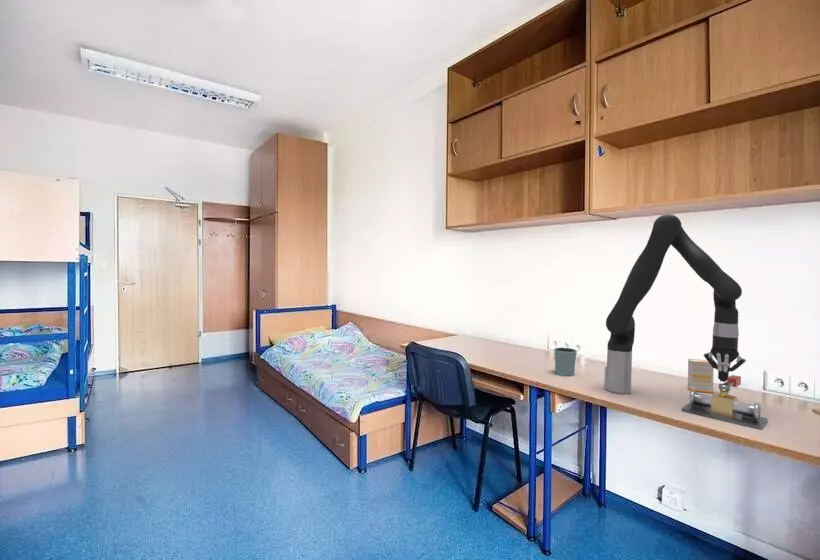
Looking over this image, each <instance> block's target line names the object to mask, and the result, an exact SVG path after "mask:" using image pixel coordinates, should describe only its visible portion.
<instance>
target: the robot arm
mask: <svg viewBox="0 0 820 560" xmlns="http://www.w3.org/2000/svg"><path fill="white" fill-rule="evenodd" d="M651 229H652V230H651V233H650V235H649V238H648V240H647V243H646V245H645V246H644V249H643V250H642V251H641V253H640V255H638V258H637V259H636V261H635V262H634V264H633V266H632V268H631V270H630V273H629V274H628V276H627V278H626V281H625V283H624V285H623V287H622V290H621V293H620V295H619V297H618V299H617V301H616V303H615V304H614V306H613V308H612V309H611V311H610V312H609V314H608V315H607V317H606V320H605V326H606V329H607V331H608V332H609V333H610V337H609V340H608V341H607V347H606V348H607V349H606V350H607V352H606V353H607V355H606V366H605V367H604V384H603V385H604V386H603V387H604V388H603V389H604V390H606V391H609V392H610V393H614V394H622V395H623V394H624V395H625V394H626V395H627V394H630V393H631V392H632V371H633V370H632V369H633V368H632V367H633V366H632V365H633V346H634V343H635V333H636V330H635V329H636V321H635V318H634V317H633V315H634V313H635V311H636V309H637V307H638V306H639V304H640V303H641V302H642V300H643V299H644V298H645V297H646V296H647V294H648V293H649V292H650V290H651V289H652V287H653V285H654V283H655V281H656V279H657V277H658V276H659V272H660V270H661V268H662V265H663V263H664V262H663V261H664V259H665V257H666V254H667V252H668V250H669V248H670V247H671V246H672V247H673V248H674V249H675V251H677V252H678V253H679V255H680V256H681V257H682V258H683V259H684V261H685V262H686V263H687V265H689V266H690V268H691V269H692V270H693V271H694V272H695V273H696V275H697V276H699V278H700V279H701V280H702V281H704V282H706V283H707V284H708V285H709V286H711V288H712V289H713V294H712V295H713V296H712V297H713V303H714V304H713V305H714V319H713V322H714V323H713V327H712V346H711V348H710V351H708V352H707V353H704V354H703V356H704V358H705V360H707V361H708V362H709V363H710V365H711V366H712V367H713V368H714V369H715V370H716V371H717V372H718V373H717V379H718V380H719V381H720V382H723V383H725V382H727V377H729V376H730V375H729V373H730V372H734V371H736V370H737V369H738V368H739V367H741V366H742V365H744V364H745V363H746V362H747V360H746V359H745V358H743V357H741V356H740V353H739V351H738V347H739V335H740V334H739V330H740V329H739V309H737V306H736V305H737V304H736V300H738V299H740V298H741V296H742V293H743V290H742V287H741V286H740V284H739V283H738V282H737V281H736V280H735V279H734V278H732V277H731V276H730V275H729V274H728V273H726V272H725V271H724V270H723V269H722V268H721V267H720V265H719V264H718V263H717V262H716V261H715V260H714V259H713V258H712V257H711V256H710V255H709V254H707V252H705V250H703V249H702V248H701V247H700V245H699V246H698V244H696V243H695V241H693V240H692V238H691V237H690V236H689V235H688V234H687V232H686V231H685V229H684V227H683V226H682V222H681V219H680V218H679V217H678V216H677V215H674V214H666V213H665V214H662V215H660V216H659V217H657V218H656V219H655V220H654V222H653V226H652V228H651ZM714 359H715V360H716V361H715V360H714ZM735 360H736V363H735V364H733V365H732V364H731V363H733V362H734V361H735ZM731 365H732V366H731Z"/></svg>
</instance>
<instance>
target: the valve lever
mask: <svg viewBox="0 0 820 560" xmlns="http://www.w3.org/2000/svg"><path fill="white" fill-rule="evenodd" d="M741 383H742V375H741V376H740V375H735V374H734V375H733V374H732V375H729V377H727V381H726V382H723V383H718V390H719V391H720V390H724V391H729V392H730V391H731V388H732V387H733V388H738V387H739V386H741V385H742V384H741Z"/></svg>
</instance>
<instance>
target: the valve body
mask: <svg viewBox="0 0 820 560" xmlns="http://www.w3.org/2000/svg"><path fill="white" fill-rule="evenodd" d="M729 392H730V391H724V390H720V389H719V392H713V393H712V395H707V394H703V393H698V392H697V391H694V390H692V391H690V393H689V403H688V404H686V405H684V406H683V407H682V408H681V412H685V413H688V414H693V415H697V416H701V417H705V418H709V419H714V420H716V421H717V420H718V421H722V422H725V423H726V422H727V423H730V424H736V425H738V426H739V425H740V426H743V427H748V428H752V429H756V430H760V431H761V430H762V429H764V427H765V425H766V424H767V423H768V422H769V418H768V417H765V416H764V417H763V416H761V411H762V410H761V409H762V407H761V403H758V402H755V403H754V404H751V403H747V402H741V401H738V400H737V398H738V396H735V395H730V393H729Z"/></svg>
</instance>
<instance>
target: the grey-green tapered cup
mask: <svg viewBox="0 0 820 560" xmlns="http://www.w3.org/2000/svg"><path fill="white" fill-rule="evenodd" d="M553 351H554V365H555V366H554V370H555V371H554V373H555V374H556V375H558V376H561V377H573V376H575V370H576V368H575V367H576V359H577V350H576V349H574V348H569V347H556V348H554V349H553Z"/></svg>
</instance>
